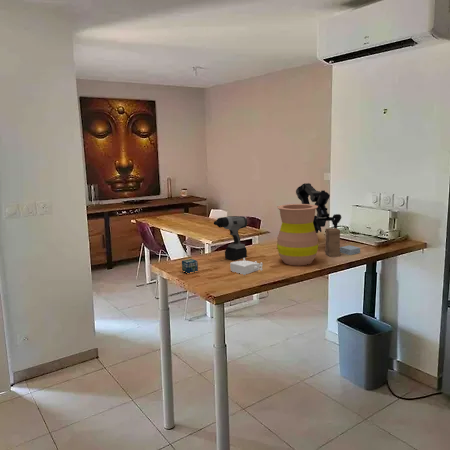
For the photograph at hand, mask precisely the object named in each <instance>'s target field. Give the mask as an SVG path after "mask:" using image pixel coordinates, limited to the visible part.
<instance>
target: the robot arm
mask: <svg viewBox="0 0 450 450" xmlns="http://www.w3.org/2000/svg"><path fill="white" fill-rule="evenodd" d="M295 195H296V196H297V199H298V200H300V201H301V204H311V203H310V201H311V202H312V203H314V205H316V206H318V207H317V208H316V210H315V212H316V215H315V216H314V220H313V224H314V228H315V231H316V234H319V232H320V233H322V232H323V231H322V228H325V227H326V222H329V221H330V222H331V223H332V226H333V228H337V229H338V224H339V223H340V222H341V220H342V215H341V214H340V213H338V214H337V213H336V214H333V216H330V213H329V212H328V208H327V206H326V205H327V204H328V201H329V199H330V197H331V196H330V195H331V194H330V193H328V192H327V191H325V190H324V189H322V190H317V189H316V188H315V187H314V186H312V184H311V183H309V182H306V183H302V184H301V185H299V186H298V187H297V188H296V190H295Z"/></svg>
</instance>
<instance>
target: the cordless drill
mask: <svg viewBox="0 0 450 450" xmlns="http://www.w3.org/2000/svg"><path fill="white" fill-rule="evenodd" d="M213 225H215V226H217V227H218V228H220V229H221V228H224V229H225V230H228V231H229V235H230V236H232V238H233V242H232V243H229V244H228V246H226V249H225V251H224V257H225V260H230V261H232V262H236V261H240V260H241V259H242V260H243V258H245V259H246V258H247V257H248V252H247V247H246V244H245V243H241V238H240V235H239V231H240V230H241V229H244V228H247V226H248V219H247V217H246V216H243V215H242V216H239V215H238V216H237V215H233V216H232V215H230V216H224V217H218V218H217V219H216V220H214V221H213Z"/></svg>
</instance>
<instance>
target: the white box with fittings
mask: <svg viewBox="0 0 450 450" xmlns="http://www.w3.org/2000/svg"><path fill="white" fill-rule="evenodd" d="M229 266H230V267H229V268H230V272H231V271H232V273H235V272H236V274H239V273H240V274H239V275H242V274H243V276H247V275H249V274H252V273H253V272H258V271H259V270H260V271H261V272H262V271H263V270H264V269H263V262H262V261H261V262H260V263H259V262H257V260H255V261H250V260H246V257H245V258H242V260H235V261H232V262H230V265H229ZM246 274H247V275H246Z"/></svg>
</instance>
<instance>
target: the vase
mask: <svg viewBox="0 0 450 450" xmlns="http://www.w3.org/2000/svg"><path fill="white" fill-rule="evenodd" d="M317 207H318V206H316V205H315V204H311V203H310V204H302V203H291V204H290V203H289V204H281V205H280V204H279V205H278V206H277V210H279V215H280V221H281V225H280V228H279V230H278V231H279V232H278V234H277V241H276V247H277V251H278V252H277V253H278V256H279V257H280V259H281V260H282V262H283V264H286V265H290V266H306V265H307V264H308V265H310V264H312V263H313V261H314V260H315V258H316V257H317V253H318V249H319V237H318V233H316V231H315V228H314V224H313V220H314V216H316V208H317Z"/></svg>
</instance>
